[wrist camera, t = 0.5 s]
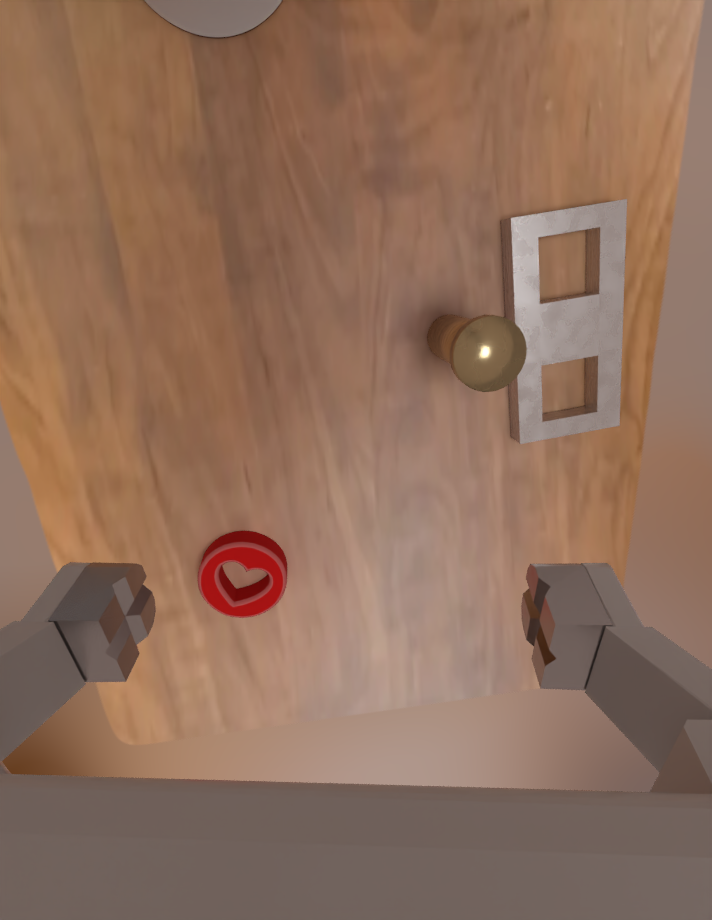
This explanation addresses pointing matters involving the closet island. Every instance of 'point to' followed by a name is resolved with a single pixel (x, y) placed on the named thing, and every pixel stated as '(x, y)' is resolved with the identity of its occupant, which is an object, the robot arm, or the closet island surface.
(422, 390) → the closet island surface
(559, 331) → the plate
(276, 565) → the decorative ornament
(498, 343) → the brass capped peg
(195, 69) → the closet island surface
